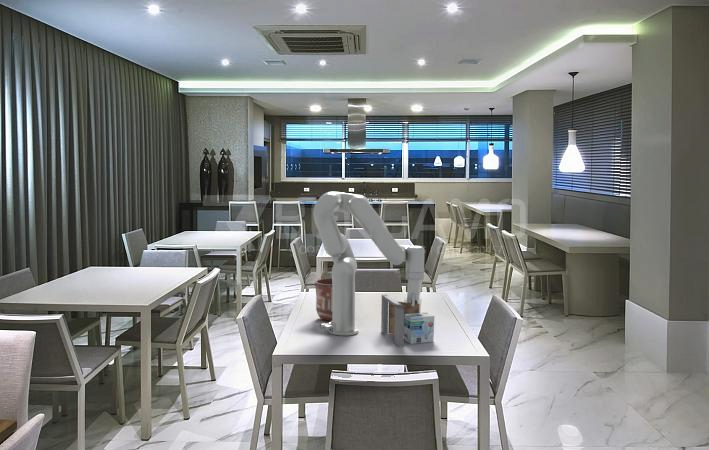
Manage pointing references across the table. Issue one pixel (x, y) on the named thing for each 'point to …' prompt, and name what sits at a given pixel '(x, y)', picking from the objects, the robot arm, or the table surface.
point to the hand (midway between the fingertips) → (413, 318)
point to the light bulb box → (419, 328)
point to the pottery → (324, 299)
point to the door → (407, 310)
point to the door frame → (398, 319)
